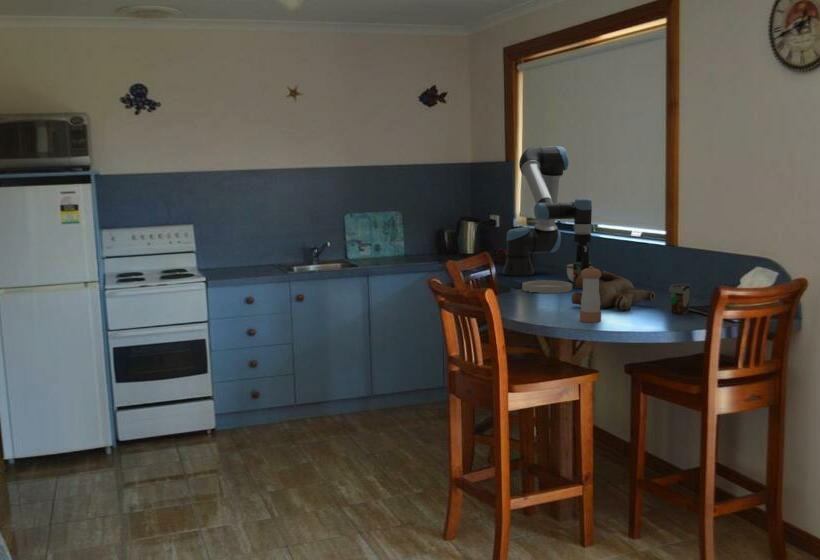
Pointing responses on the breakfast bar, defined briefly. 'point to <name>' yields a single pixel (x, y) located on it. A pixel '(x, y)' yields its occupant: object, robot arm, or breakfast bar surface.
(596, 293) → the pepper shaker
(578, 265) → the canned tomato
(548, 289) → the round tray
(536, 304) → the breakfast bar surface
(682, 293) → the food container
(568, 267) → the lidded jar
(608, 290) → the stuffed animal
